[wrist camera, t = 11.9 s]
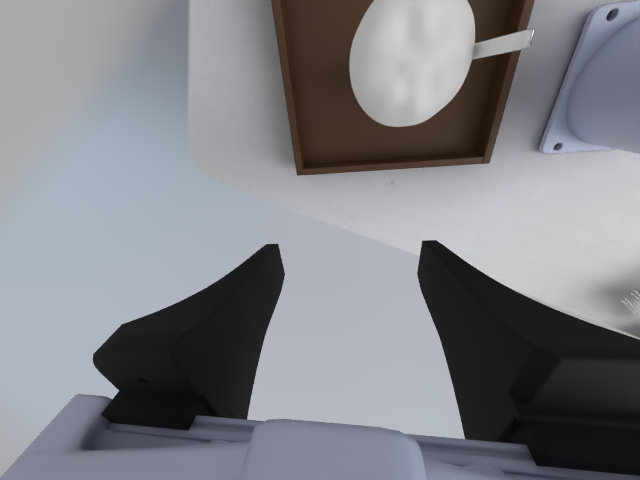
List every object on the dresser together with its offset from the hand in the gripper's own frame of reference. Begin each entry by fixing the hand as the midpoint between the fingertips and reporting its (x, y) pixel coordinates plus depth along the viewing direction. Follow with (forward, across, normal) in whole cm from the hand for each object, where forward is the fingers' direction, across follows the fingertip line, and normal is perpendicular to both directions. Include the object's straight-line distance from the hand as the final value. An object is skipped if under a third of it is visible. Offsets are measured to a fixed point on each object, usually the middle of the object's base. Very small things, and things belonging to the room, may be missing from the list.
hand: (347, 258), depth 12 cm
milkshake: (+10, -3, -8) cm, 13 cm away
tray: (+10, -3, -8) cm, 13 cm away
